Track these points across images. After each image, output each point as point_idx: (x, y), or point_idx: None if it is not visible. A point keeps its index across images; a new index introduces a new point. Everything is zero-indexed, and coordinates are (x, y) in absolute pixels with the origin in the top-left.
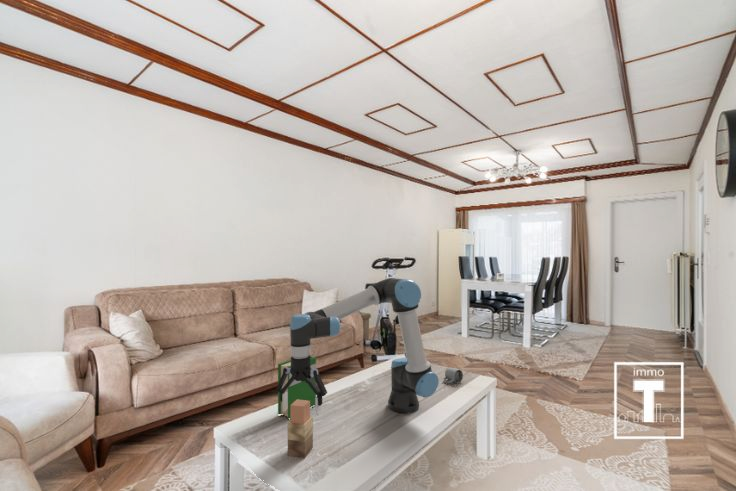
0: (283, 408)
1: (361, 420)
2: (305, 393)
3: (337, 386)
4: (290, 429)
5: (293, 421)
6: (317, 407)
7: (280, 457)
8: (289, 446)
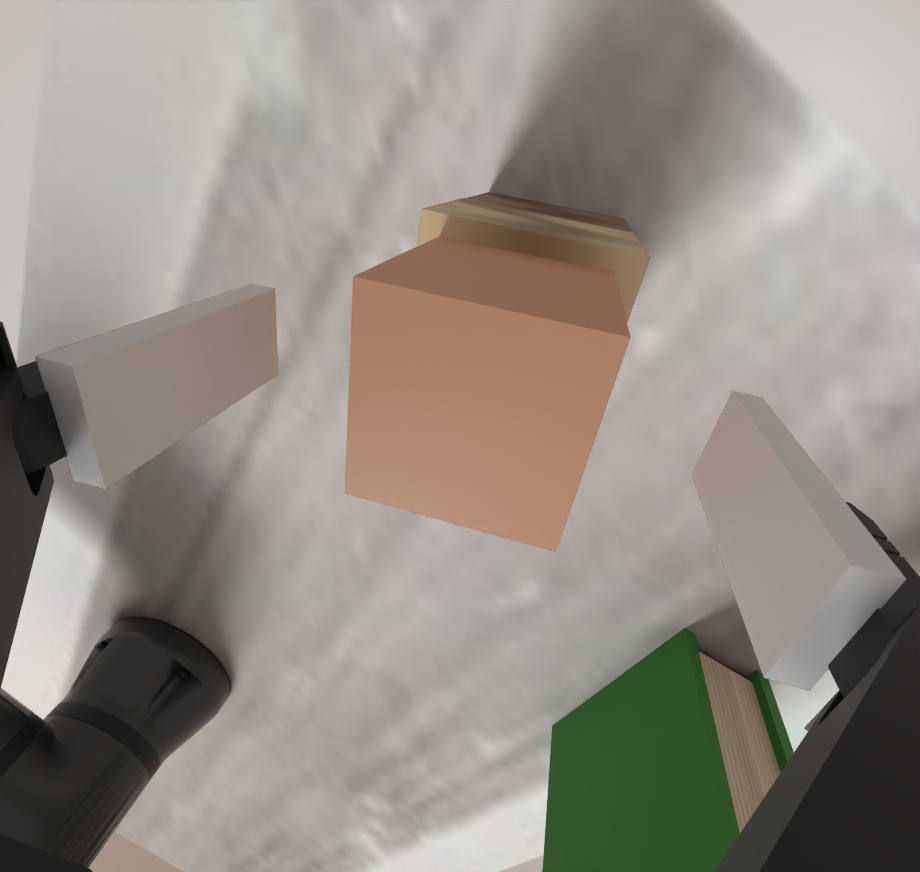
0: (760, 412)
1: (294, 584)
2: (602, 804)
3: (487, 846)
4: (606, 239)
5: (572, 266)
6: (179, 310)
7: (677, 187)
8: (611, 223)
